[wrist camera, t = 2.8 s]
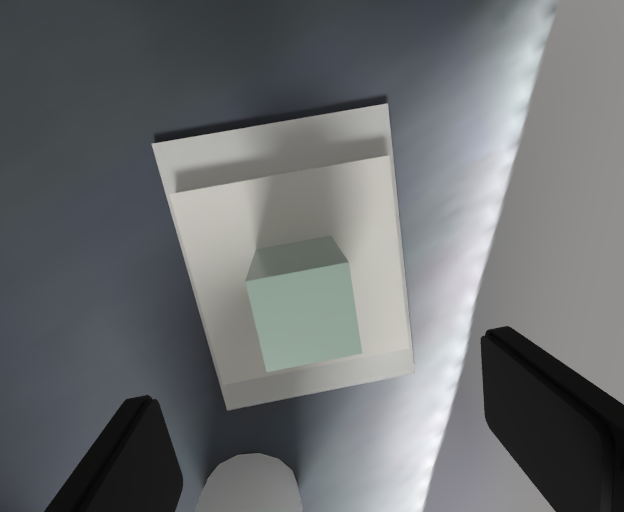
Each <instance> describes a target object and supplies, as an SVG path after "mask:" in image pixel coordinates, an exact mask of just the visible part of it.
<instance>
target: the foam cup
mask: <svg viewBox="0 0 624 512" xmlns="http://www.w3.org/2000/svg"><path fill="white" fill-rule="evenodd" d="M194 512H303V509H302V504H301V498H300V494H299V491H298V485H297V482H296V479H295V476H294V473H293V471H292V470H291V469H290V468H289V467H288V466H287V465H286V464H284V463H283V462H282V461H281V460H280V459H278V458H275V457H271V456H268V455H264V454H261V453H253V454H242V455H236V456H234V457H232V458H230V459H228V460H226V461H224V462H222V463H220V464H219V465H218V466H217V467H216V469H215V470H214V471H213V472H212V473H211V475H210V476H209V477H208V478H207V482H206V485H205V486H204V488H203V490H202V493H201V495H200V498H199V500H198V503H197V506H196V508H195V511H194Z"/></svg>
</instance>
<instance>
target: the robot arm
mask: <svg viewBox="0 0 624 512" xmlns="http://www.w3.org/2000/svg"><path fill="white" fill-rule="evenodd" d="M481 357H482V374H483V392H484V410H485V418H486V422H487V424H488V426H489V428H490V429H491V431H492V432H493V433H494V434H495V436H496V437H497V438H498V439H499V441H500V442H501V443H502V445H503V446H504V447H505V448H506V450H507V451H508V452H509V453H510V455H511V456H512V457H513V458H514V460H515V461H516V462H517V463H518V465H519V466H520V467H521V468H522V470H523V471H524V472H525V474H526V475H527V476H528V477H529V479H530V480H531V481H532V482H533V484H534V485H535V486H536V487H537V489H538V490H539V491H540V492H541V494H542V495H543V496H544V497H545V499H546V500H547V501H548V502H549V504H550V505H551V506H552V507H553V509H554V510H555V511H556V512H624V405H623V404H622V403H620V402H619V401H617V400H616V399H614V398H613V397H612V396H610V395H609V394H607V393H606V392H604V391H603V390H601V389H600V388H598V387H597V386H596V385H594V384H593V383H591V382H590V381H588V380H587V379H585V378H584V377H582V376H581V375H579V374H578V373H577V372H575V371H574V370H572V369H571V368H569V367H568V366H566V365H565V364H563V363H562V362H561V361H559V360H557V359H556V358H554V357H553V356H552V355H550V354H549V353H547V352H546V351H544V350H543V349H542V348H540V347H538V346H537V345H535V344H534V343H533V342H531V341H530V340H528V339H527V338H525V337H524V336H523V335H521V334H520V333H518V332H517V331H515V330H514V329H512V328H511V327H508V326H505V327H500V328H495V329H490V330H487V331H486V334H485V336H482V337H481ZM182 488H183V476H182V473H181V470H180V466H179V463H178V460H177V457H176V454H175V451H174V448H173V445H172V442H171V439H170V436H169V433H168V429H167V426H166V423H165V420H164V417H163V414H162V411H161V408H160V405H159V402H158V401H157V400H156V399H153V400H152V398H151V397H150V396H149V395H145V396H140V397H135V398H130V399H126V400H125V401H124V402H123V404H122V405H121V406H120V408H119V409H118V410H117V412H116V413H115V415H114V416H113V417H112V419H111V420H110V421H109V423H108V424H107V426H106V427H105V428H104V430H103V431H102V433H101V434H100V435H99V437H98V438H97V439H96V441H95V442H94V444H93V445H92V446H91V448H90V449H89V450H88V452H87V453H86V455H85V456H84V457H83V459H82V460H81V461H80V463H79V464H78V466H77V467H76V468H75V470H74V471H73V473H72V474H71V475H70V477H69V478H68V479H67V481H66V482H65V484H64V485H63V486H62V488H61V489H60V490H59V492H58V493H57V495H56V496H55V497H54V499H53V500H52V502H51V503H50V504H49V506H48V507H47V508H46V510H45V511H44V512H175V510H176V507H177V504H178V501H179V498H180V495H181V492H182Z"/></svg>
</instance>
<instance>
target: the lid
mask: <svg viewBox="0 0 624 512" xmlns="http://www.w3.org/2000/svg"><path fill="white" fill-rule="evenodd" d="M169 195H170V198H171V202H172V205H173V209H174V213H175V216H176V220H177V223H178V227H179V230H180V234H181V238H182V241H183V245H184V248H185V252H186V255H187V259H188V263H189V266H190V270H191V273H192V277H193V280H194V284H195V287H196V291H197V295H198V298H199V302H200V305H201V309H202V312H203V316H204V320H205V323H206V327H207V330H208V334H209V337H210V341H211V345H212V348H213V352H214V355H215V359H216V362H217V366H218V369H219V373H220V377H221V380H222V384H223V385H226V384H231V383H236V382H241V381H246V380H251V379H256V378H261V377H267V376H272V375H277V374H282V373H287V372H292V371H297V370H302V369H307V368H312V367H317V366H322V365H327V364H333V363H338V362H343V361H348V360H353V359H358V358H363V357H368V356H373V355H378V354H383V353H388V352H393V351H398V350H404V349H409V342H408V332H407V322H406V313H405V303H404V293H403V283H402V274H401V264H400V254H399V244H398V235H397V225H396V215H395V205H394V196H393V186H392V176H391V166H390V157H389V155H386V156H379V157H373V158H368V159H362V160H357V161H351V162H345V163H340V164H334V165H328V166H323V167H317V168H311V169H306V170H300V171H294V172H289V173H283V174H277V175H272V176H266V177H260V178H255V179H249V180H243V181H238V182H232V183H226V184H221V185H215V186H209V187H204V188H198V189H192V190H187V191H181V192H176V193H172V194H169Z"/></svg>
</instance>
